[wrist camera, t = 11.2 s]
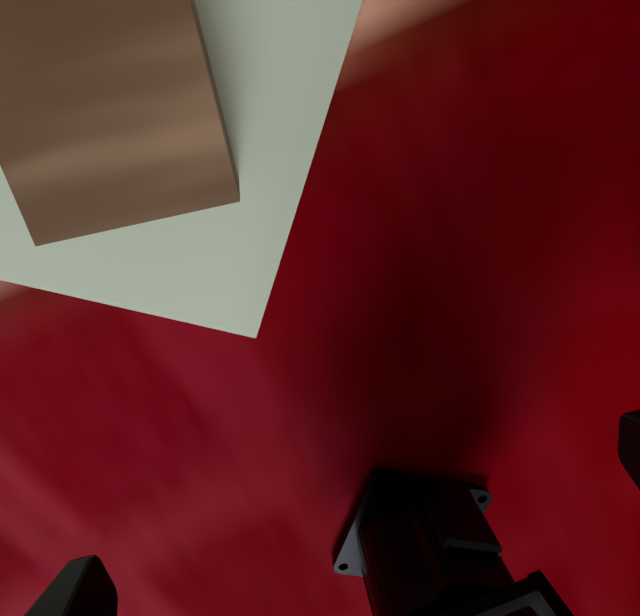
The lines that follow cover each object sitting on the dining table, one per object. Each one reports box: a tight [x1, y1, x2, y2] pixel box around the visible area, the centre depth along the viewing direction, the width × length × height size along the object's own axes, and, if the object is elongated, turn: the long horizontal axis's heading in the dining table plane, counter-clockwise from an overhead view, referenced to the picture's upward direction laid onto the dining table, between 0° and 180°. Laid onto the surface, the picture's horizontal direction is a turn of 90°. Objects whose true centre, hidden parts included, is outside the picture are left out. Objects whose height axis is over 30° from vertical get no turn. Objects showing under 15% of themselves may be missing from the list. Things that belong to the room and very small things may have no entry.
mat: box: [0, 0, 363, 338], centre depth 17 cm, size 17×15×1 cm
